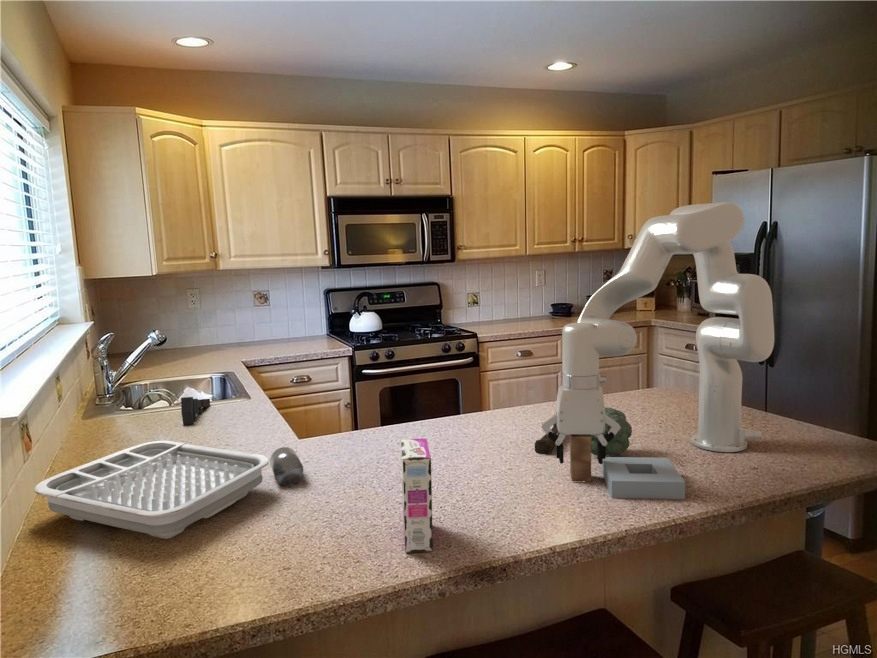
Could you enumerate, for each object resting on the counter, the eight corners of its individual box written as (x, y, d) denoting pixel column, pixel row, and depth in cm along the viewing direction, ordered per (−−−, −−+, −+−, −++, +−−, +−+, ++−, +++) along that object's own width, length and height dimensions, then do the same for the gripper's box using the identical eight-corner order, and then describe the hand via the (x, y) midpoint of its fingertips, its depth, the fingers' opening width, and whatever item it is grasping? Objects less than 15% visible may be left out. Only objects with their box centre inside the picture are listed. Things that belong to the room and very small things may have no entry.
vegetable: (615, 431, 158) (649, 419, 144) (597, 474, 152) (631, 466, 139) (576, 405, 157) (607, 391, 143) (557, 447, 151) (587, 437, 138)
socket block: (667, 473, 134) (667, 457, 133) (684, 499, 120) (685, 482, 119) (601, 472, 135) (601, 456, 135) (611, 497, 122) (611, 480, 121)
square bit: (588, 475, 134) (588, 431, 132) (591, 482, 130) (591, 436, 129) (570, 475, 134) (570, 431, 133) (571, 482, 130) (571, 436, 129)
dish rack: (165, 559, 103) (161, 514, 102) (24, 526, 118) (19, 486, 117) (283, 489, 132) (280, 454, 131) (158, 470, 146) (154, 437, 145)
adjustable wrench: (211, 420, 206) (191, 425, 182) (203, 420, 206) (181, 426, 181) (210, 395, 207) (190, 397, 182) (202, 395, 207) (181, 397, 182)
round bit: (289, 477, 141) (294, 489, 134) (264, 467, 139) (269, 479, 132) (302, 453, 142) (308, 464, 135) (278, 442, 140) (283, 453, 132)
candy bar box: (435, 552, 102) (431, 457, 100) (405, 554, 102) (401, 459, 100) (430, 522, 113) (427, 436, 111) (403, 524, 113) (399, 438, 111)
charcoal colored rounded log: (549, 457, 147) (549, 438, 146) (534, 454, 149) (534, 436, 148) (573, 435, 163) (574, 418, 163) (559, 433, 165) (559, 416, 165)
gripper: (619, 377, 132) (619, 456, 134) (538, 377, 134) (538, 455, 136) (626, 385, 125) (625, 468, 127) (539, 385, 127) (540, 467, 129)
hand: (580, 461), depth 132 cm, fingers open, 7 cm apart
